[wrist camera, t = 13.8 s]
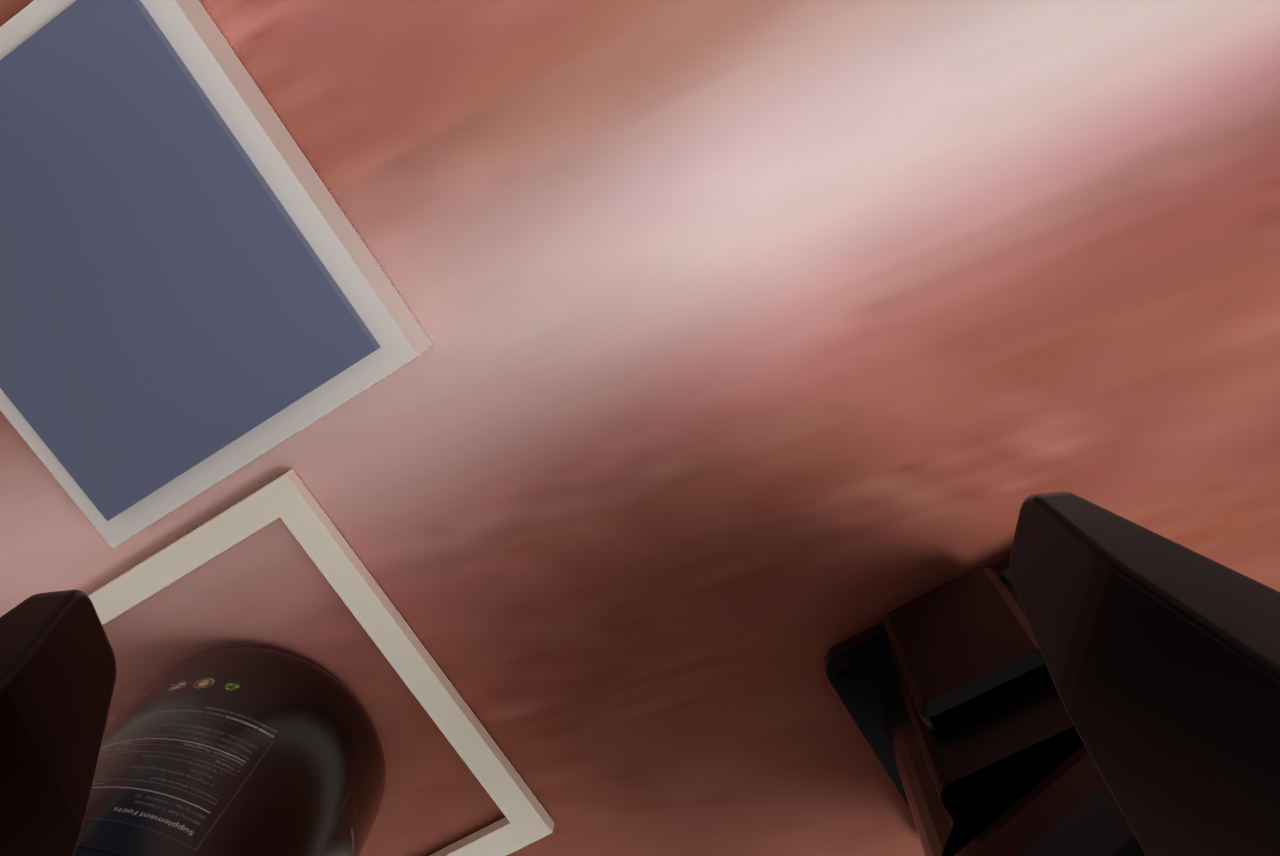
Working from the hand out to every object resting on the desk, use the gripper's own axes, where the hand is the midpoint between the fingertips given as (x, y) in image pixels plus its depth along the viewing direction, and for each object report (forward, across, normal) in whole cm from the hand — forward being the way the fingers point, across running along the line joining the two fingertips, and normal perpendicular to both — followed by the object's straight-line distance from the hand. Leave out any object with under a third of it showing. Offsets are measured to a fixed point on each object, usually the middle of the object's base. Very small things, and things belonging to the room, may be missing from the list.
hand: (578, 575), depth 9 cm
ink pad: (+15, +9, +2) cm, 17 cm away
